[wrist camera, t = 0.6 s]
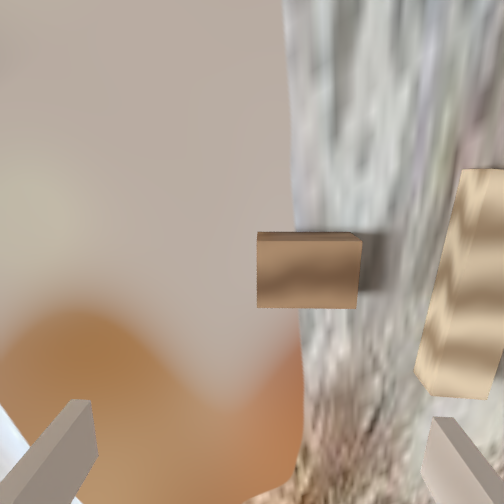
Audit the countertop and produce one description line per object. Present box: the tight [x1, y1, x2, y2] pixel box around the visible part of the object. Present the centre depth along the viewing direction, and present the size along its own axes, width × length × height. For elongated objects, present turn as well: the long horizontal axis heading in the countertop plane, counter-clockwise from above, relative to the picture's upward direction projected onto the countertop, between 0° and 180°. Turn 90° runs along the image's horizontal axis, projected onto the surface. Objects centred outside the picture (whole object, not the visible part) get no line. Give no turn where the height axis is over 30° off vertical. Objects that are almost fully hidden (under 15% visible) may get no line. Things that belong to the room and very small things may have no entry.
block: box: [257, 232, 363, 309], centre depth 31 cm, size 7×10×4 cm
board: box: [413, 169, 504, 400], centre depth 31 cm, size 24×6×4 cm, turn 177°
